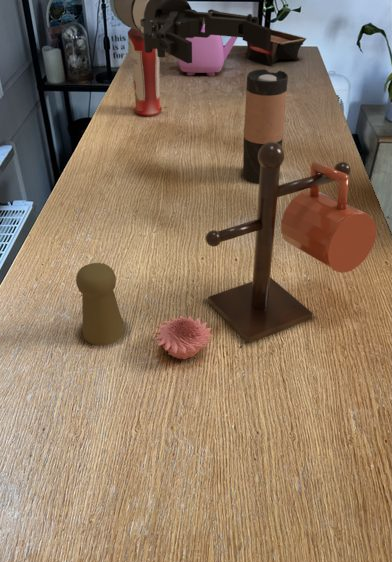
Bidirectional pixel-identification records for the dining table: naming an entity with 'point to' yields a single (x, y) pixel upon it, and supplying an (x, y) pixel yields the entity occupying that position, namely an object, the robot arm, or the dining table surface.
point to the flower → (183, 336)
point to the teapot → (207, 54)
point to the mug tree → (264, 258)
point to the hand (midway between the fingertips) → (230, 46)
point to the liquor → (144, 75)
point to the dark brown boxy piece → (276, 48)
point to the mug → (329, 225)
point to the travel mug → (262, 116)
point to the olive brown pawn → (99, 304)
